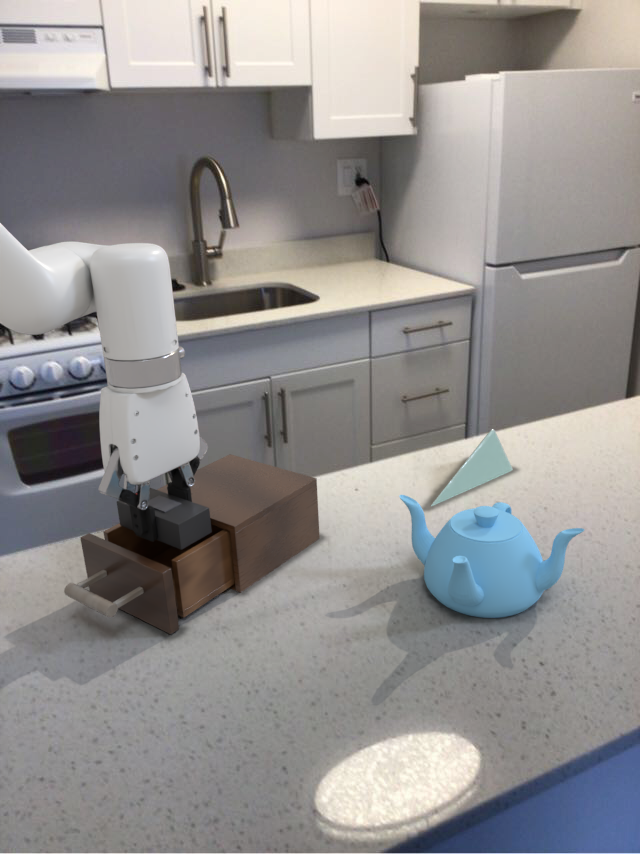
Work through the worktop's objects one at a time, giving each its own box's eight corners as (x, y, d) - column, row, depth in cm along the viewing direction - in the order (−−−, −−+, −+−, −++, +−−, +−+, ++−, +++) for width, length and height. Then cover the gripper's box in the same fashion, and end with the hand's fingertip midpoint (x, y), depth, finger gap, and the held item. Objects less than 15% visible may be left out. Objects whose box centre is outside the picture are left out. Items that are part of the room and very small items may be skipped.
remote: (181, 550, 79) (177, 522, 78) (119, 525, 85) (115, 499, 84) (211, 532, 82) (209, 505, 81) (150, 509, 88) (147, 484, 87)
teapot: (511, 550, 92) (515, 473, 88) (583, 619, 78) (591, 531, 75) (398, 572, 89) (397, 493, 85) (453, 648, 75) (455, 557, 71)
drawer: (133, 660, 74) (123, 596, 71) (52, 615, 82) (40, 556, 79) (258, 575, 87) (253, 519, 85) (178, 543, 95) (172, 491, 93)
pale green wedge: (478, 524, 98) (528, 453, 110) (438, 494, 99) (491, 427, 111) (451, 556, 103) (502, 486, 115) (414, 527, 105) (467, 460, 117)
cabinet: (241, 598, 85) (234, 526, 82) (154, 561, 93) (145, 494, 90) (320, 543, 96) (316, 478, 92) (235, 514, 104) (230, 453, 101)
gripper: (180, 345, 85) (196, 491, 92) (50, 385, 73) (79, 551, 79) (228, 353, 81) (242, 506, 87) (98, 397, 69) (126, 571, 75)
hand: (164, 525), depth 83 cm, fingers closed on remote, 4 cm apart
